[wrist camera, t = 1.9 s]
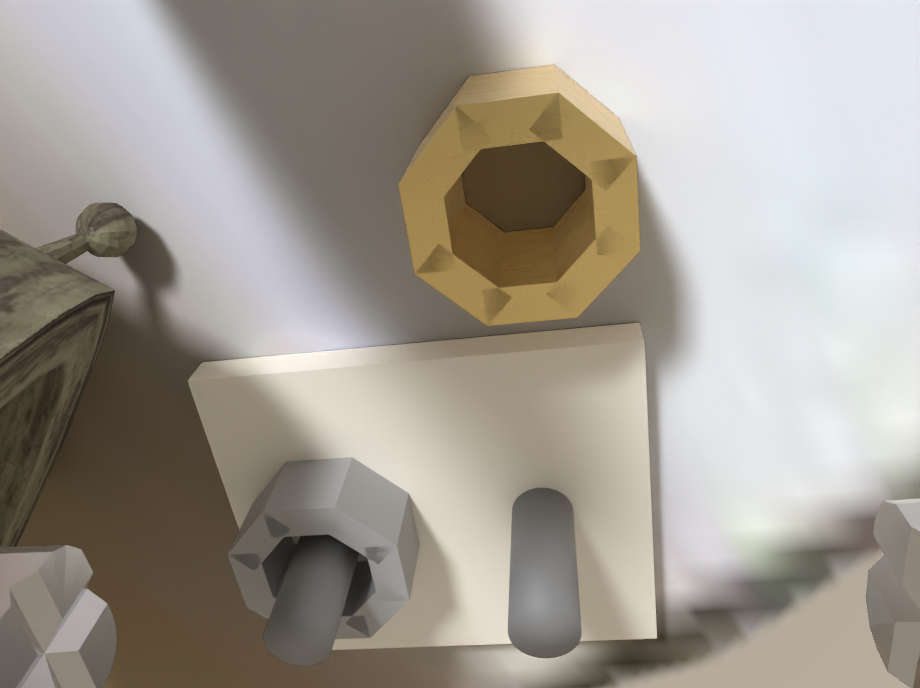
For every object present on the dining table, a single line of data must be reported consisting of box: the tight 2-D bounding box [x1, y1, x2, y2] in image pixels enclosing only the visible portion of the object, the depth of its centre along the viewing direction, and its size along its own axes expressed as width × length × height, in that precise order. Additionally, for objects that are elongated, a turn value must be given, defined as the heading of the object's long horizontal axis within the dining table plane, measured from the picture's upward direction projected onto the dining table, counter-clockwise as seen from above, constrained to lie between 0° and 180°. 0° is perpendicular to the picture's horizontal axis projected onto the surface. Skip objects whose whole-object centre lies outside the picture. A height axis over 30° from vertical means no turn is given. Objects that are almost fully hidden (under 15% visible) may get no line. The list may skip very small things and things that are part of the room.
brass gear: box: [398, 65, 640, 326], centre depth 20 cm, size 5×5×4 cm
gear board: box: [188, 323, 657, 666], centre depth 25 cm, size 14×12×6 cm
